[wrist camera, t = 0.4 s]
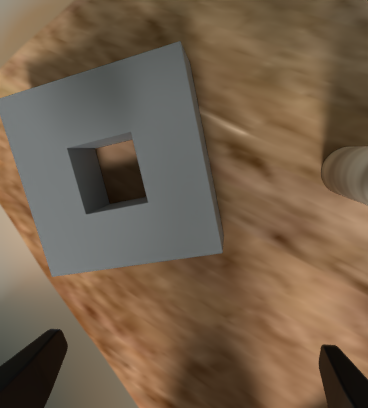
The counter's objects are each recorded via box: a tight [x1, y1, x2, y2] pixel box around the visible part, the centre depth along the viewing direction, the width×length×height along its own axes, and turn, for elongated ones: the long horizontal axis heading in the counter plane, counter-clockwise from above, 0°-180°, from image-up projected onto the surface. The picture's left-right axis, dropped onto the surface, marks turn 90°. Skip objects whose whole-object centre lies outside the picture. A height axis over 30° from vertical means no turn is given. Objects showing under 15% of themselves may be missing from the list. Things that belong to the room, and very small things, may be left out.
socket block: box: [0, 41, 224, 277], centre depth 20 cm, size 14×14×4 cm
